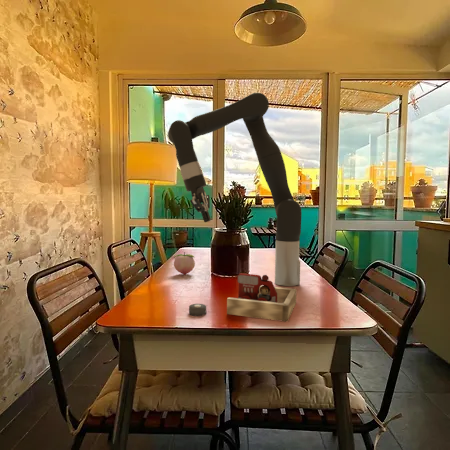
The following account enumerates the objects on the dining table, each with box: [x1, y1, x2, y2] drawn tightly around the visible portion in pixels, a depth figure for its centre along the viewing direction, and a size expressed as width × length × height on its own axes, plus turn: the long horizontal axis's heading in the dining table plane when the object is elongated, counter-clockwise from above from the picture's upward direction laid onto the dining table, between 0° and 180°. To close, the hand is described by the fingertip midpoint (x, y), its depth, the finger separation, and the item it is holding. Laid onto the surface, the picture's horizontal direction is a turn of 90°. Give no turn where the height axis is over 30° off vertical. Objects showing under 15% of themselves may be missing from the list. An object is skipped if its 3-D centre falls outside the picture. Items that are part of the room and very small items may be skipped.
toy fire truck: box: [236, 272, 278, 303], centre depth 103 cm, size 7×12×10 cm, turn 70°
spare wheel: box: [188, 303, 207, 317], centre depth 97 cm, size 5×5×2 cm
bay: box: [226, 286, 297, 322], centre depth 102 cm, size 18×18×4 cm
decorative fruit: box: [173, 252, 196, 275], centre depth 147 cm, size 9×8×10 cm
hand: (207, 221), depth 124 cm, fingers closed
